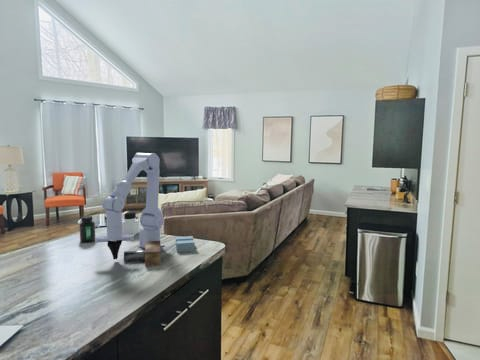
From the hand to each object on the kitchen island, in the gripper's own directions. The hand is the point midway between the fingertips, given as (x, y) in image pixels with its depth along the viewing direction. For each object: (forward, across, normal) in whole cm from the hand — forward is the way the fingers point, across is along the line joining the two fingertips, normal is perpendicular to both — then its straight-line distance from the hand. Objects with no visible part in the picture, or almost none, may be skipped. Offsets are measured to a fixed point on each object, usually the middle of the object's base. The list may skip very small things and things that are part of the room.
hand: (115, 258), depth 130 cm
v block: (+1, +29, +11) cm, 31 cm away
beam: (+1, +15, 0) cm, 15 cm away
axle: (0, +10, 0) cm, 10 cm away
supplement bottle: (+2, -17, +32) cm, 36 cm away
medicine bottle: (+2, +2, +40) cm, 40 cm away
